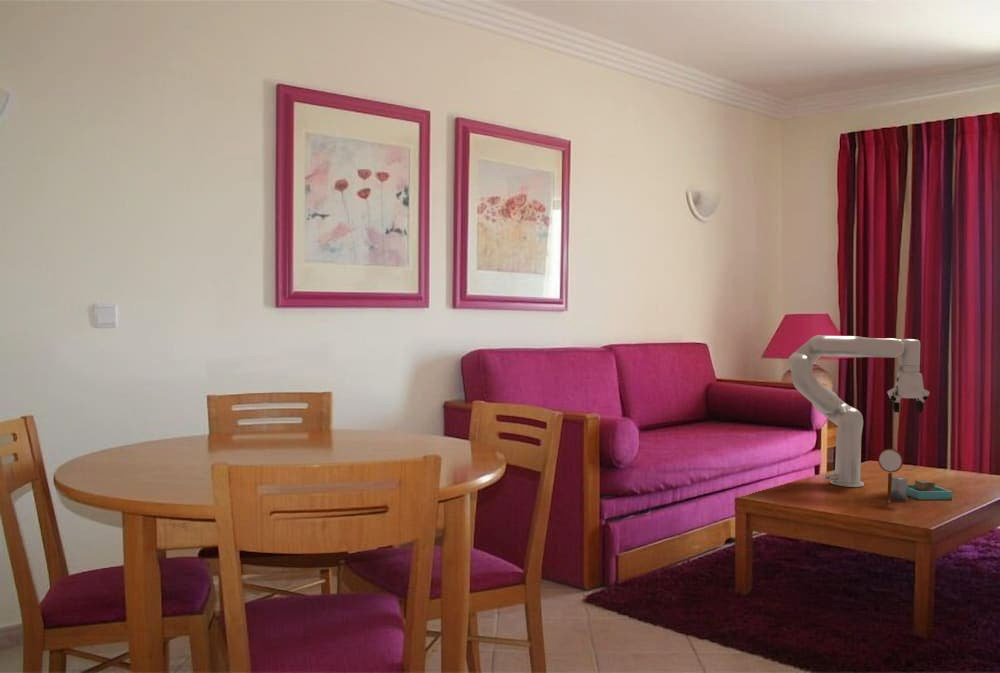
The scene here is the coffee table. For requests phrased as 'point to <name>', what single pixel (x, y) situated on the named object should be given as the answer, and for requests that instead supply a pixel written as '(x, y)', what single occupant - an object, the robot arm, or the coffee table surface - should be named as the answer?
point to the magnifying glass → (890, 465)
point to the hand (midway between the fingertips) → (907, 412)
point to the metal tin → (899, 488)
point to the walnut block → (924, 485)
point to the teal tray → (929, 494)
